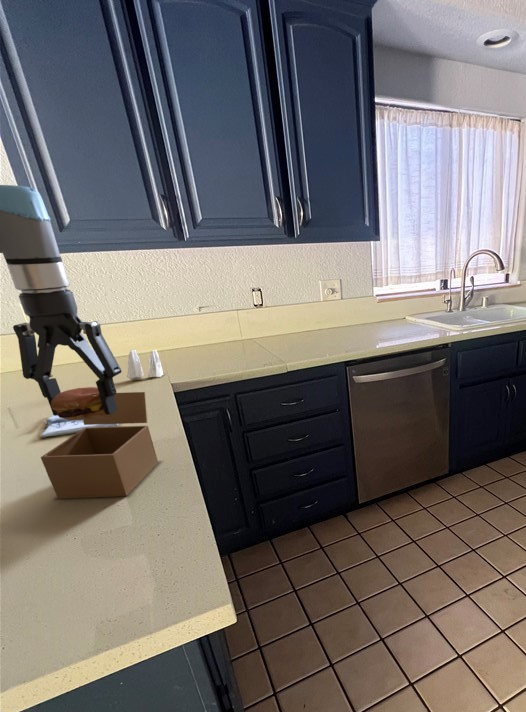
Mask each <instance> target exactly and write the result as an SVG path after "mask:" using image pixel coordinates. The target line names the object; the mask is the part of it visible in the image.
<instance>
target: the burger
mask: <svg viewBox="0 0 526 712" xmlns="http://www.w3.org/2000/svg"><path fill="white" fill-rule="evenodd" d="M60 392H61V393H59V394H57V395H56V396H54V398H53V399H52V401H51V407H52V409H53V410H55V412H56V413H57V415H58V416H59V417H60V418H64V419H67V420H83V419H85V418H86V419H91V418H93V417H94V416H96V415H100V416H103V415H106V413H105V410H104V407H103V404H102V400H101V397H100V394H99V391H98V388H97V386H96V387H95V386H87V387H86V386H85V387H77V388H72V389H67V390H64V391H60ZM51 407H50V408H51Z"/></svg>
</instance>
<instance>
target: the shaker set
mask: <svg viewBox="0 0 526 712" xmlns="http://www.w3.org/2000/svg"><path fill="white" fill-rule="evenodd" d="M137 352H138V351H137V350H136V349H133V350H130V351H129V353H128V357H127V358H128V359H127V375H126V376H127V378H128V379H130V380H131V381H132V380H133V381H135V380H140V379H142V377H143V376H144V371H143V368H142V365H141V364H142V363H141V361H140V357H139V355H138V353H137ZM162 367H163V366H162V364H161V359H160V356H159V353H158V351H157V350H156V349H154V350H152V351H151V352H150V354H149V360H148V378H159V377H160V378H161V377H162V376H163V375H164V371H163V368H162Z"/></svg>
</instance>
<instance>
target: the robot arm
mask: <svg viewBox="0 0 526 712" xmlns="http://www.w3.org/2000/svg"><path fill="white" fill-rule="evenodd" d="M51 222H52V219H51V216H49V213H48V211H47V208H46V206H45V202H44V199H43V197H42V195H41V193H40V192H39V191H38V190H36V189H35V188H34V187H30V186H25V185H14V184H13V185H11V184H0V254H2V255H3V258H4V260H5V262H6V265H7V269H8V271H9V274H10V278H11V280H12V283H13V286H14V289H16V290H17V291H20V293H19V295H18V298H19V301H20V304H21V307H22V310H23V312H24V315H26V316H28V318H29V322H22V323H18V324H15V325H13V326H12V328H13V330H14V333H15V335H16V338H17V340H18V348H19V349H18V350H19V356H20V362H21V371H22V376H23V378H24V379H26V380H29V379H31V380H33V381H35V382H36V383H37V384H38V387H39V389H40V392H41V395H42V397H43V398H46V400H47V401H48V404H49V406H50V407H49V408H50V410H51V412H52V414H53V415H54V416H55V415H57V413H56V412H55V410H53V409H52V407H51V401H52V399H53V398H54V396H56V395H57V394H59V393H61V392H62V391H61V389H60V386H59V383H58V381H57V380H58V379H57V377H53V376H54V374H52V370H53V363H54V359H55V353H56V348H57V347H58V346H68V348H69V349H70V350H71V351H74V352H75V353H76V354H77V355H78V356H79V358H81V360H82V361H83V362H84V363H85V365H86V366H88V368H89V369H90V370H91V372H92V373H93V374H94V375H95V376H96V378H98V379H97V380H96V381H95V385H96V387H97V388H98V391H99V394H100V397H101V400H102V404H103V407H104V410H105V413H106V415H108V414H111V413H113V412H114V411H116V410H117V409H118V408H117V404H116V401H115V398H114V395H115V394H116V393H117V389H116V385H115V382H114V377H116V376H117V375H120V374H121V373H122V368H121V367H120V365H119V363H118V361H117V359H116V357H115V356H114V353H113V352H112V350H111V348H110V346H109V344H108V343H107V341H106V338H105V337H104V335H103V334H102V328H101V323H100V321H97V320H94V321H91V322H88V321H83V320H81V318H80V317H79V315H78V305H77V303H76V298H75V295H74V293H73V291H71V289H68V288H69V286H70V283H71V282H70V281H69V276H68V274H67V271H66V268H65V265H64V264H65V263H64V261H63V259H62V257H61V254H60V253H61V252H60V249H59V246H58V242H57V239H56V235H55V233H54V229H53V226H52V223H51ZM82 333H83V334H82ZM35 334H36V335H37V336H38V339H36V335H35ZM84 335H86V337H85V336H84Z"/></svg>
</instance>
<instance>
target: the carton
mask: <svg viewBox="0 0 526 712" xmlns="http://www.w3.org/2000/svg"><path fill="white" fill-rule="evenodd" d="M157 456H158V455H157V452H156V450H155V446H154V442H153V438H152V435H151V432H150V429H149V426H148V425H124V426H121V425H120V426H119V425H118V426H117V427H85V428H83V429H82V430H80V431H79V432H76V433H74V434H73V435H71V436H70V437H69V438H67V439H66V440H64V441H63V442H61V443H59V444H58V445H57V446H55V447H54V448H52V449H51V450H49V451H48V452H46V453H45V454H43V455H42V456H41V457H40V459H41V462H42V464H43V467H44V469H45V472H46V474H47V476H48V479H49V481H50V484H51V486H52V489H53V491H54V493H55V496H56V499H79V498H80V499H81V498H85V499H86V498H117V497H127V496H129V495H130V494H131V492H132V491H133V490H135V488H136V487H138V485H139V484H140V483H141V482H142V481H143V479H144V478H146V477H147V475H148V474H149V473H151V471H152V470H153V469H154V468H155V467H156V466H157V465H158V464H159V460H158V457H157Z"/></svg>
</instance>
